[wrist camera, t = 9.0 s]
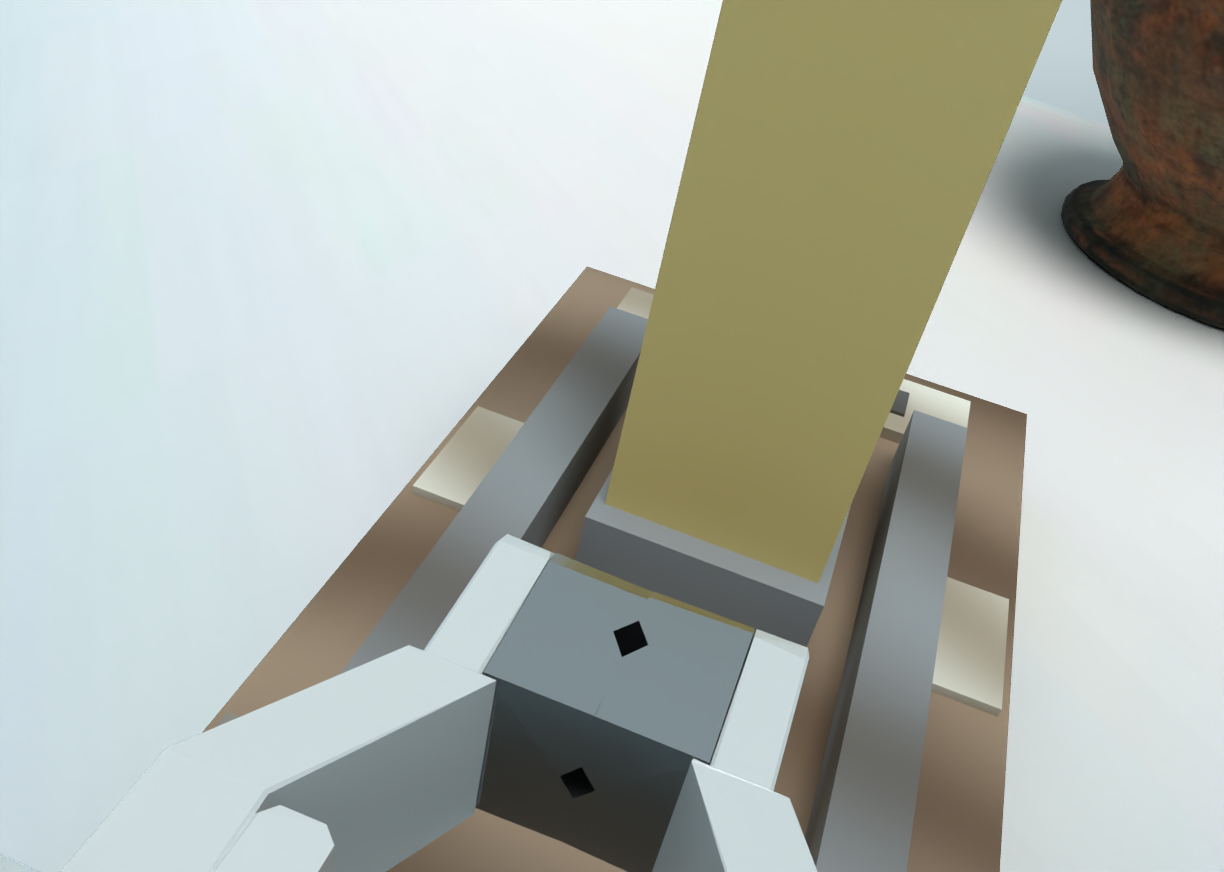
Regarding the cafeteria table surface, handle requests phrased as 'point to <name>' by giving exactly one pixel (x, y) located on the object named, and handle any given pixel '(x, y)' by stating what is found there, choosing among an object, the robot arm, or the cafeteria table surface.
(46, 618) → the cafeteria table surface
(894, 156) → the slider tab
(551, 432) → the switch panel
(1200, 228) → the brown vase
